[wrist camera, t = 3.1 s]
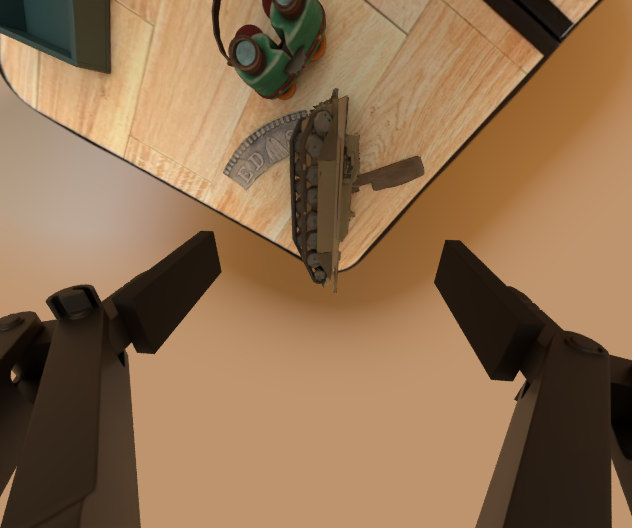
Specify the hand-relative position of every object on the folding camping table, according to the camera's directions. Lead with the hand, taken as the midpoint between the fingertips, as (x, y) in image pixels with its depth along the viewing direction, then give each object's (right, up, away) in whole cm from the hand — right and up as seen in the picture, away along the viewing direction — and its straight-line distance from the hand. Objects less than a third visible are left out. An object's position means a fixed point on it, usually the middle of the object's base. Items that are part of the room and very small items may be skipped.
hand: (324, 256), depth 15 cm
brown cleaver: (+8, +7, +17) cm, 20 cm away
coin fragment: (-5, +11, +17) cm, 21 cm away
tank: (-3, +5, +13) cm, 14 cm away
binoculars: (-5, +22, +11) cm, 25 cm away
